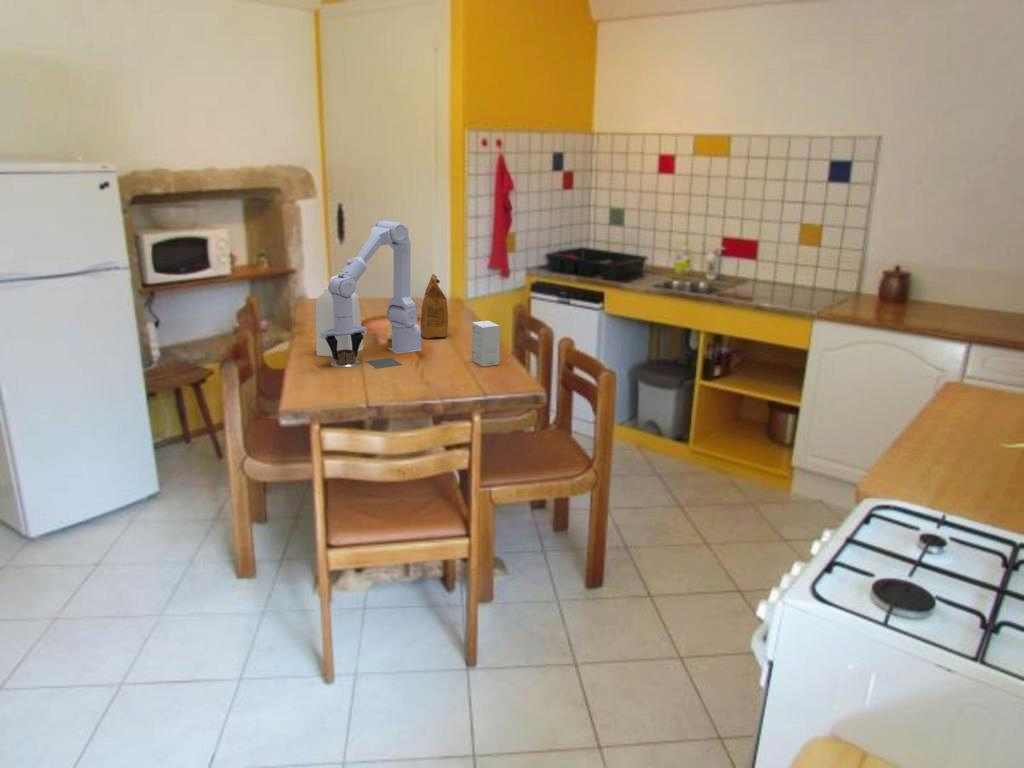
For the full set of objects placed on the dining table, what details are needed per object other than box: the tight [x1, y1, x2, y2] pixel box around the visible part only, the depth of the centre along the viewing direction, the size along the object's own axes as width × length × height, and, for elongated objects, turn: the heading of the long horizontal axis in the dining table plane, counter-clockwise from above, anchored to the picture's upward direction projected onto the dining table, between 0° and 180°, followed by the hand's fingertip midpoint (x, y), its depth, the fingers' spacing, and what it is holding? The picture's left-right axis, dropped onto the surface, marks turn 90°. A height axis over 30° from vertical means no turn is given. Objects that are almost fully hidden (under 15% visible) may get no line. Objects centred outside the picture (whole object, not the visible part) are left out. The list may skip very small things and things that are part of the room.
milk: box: [315, 274, 364, 358], centre depth 247 cm, size 12×12×26 cm
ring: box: [334, 349, 356, 365], centre depth 237 cm, size 6×6×4 cm
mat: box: [365, 357, 403, 370], centre depth 239 cm, size 9×9×1 cm
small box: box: [471, 320, 501, 367], centre depth 242 cm, size 8×6×13 cm
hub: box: [330, 352, 361, 369], centre depth 237 cm, size 9×9×4 cm
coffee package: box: [420, 273, 449, 339], centre depth 273 cm, size 10×12×22 cm
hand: (345, 357), depth 237 cm, fingers closed on ring, 6 cm apart
